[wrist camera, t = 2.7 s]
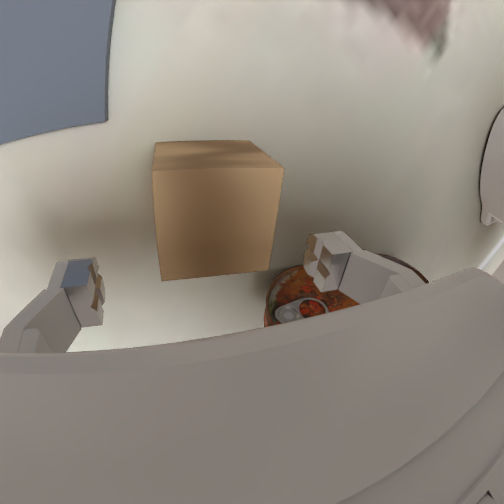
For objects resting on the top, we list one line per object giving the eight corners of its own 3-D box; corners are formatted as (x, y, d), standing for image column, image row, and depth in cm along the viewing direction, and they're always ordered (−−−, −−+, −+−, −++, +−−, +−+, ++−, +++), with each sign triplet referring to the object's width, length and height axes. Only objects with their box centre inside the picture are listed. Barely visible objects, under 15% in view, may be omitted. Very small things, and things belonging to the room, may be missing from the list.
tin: (401, 249, 24) (458, 308, 17) (390, 275, 26) (440, 334, 19) (250, 269, 20) (296, 370, 13) (247, 301, 22) (285, 396, 15)
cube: (248, 140, 14) (284, 168, 11) (241, 220, 17) (268, 270, 13) (155, 142, 13) (151, 171, 9) (159, 225, 16) (161, 281, 12)
